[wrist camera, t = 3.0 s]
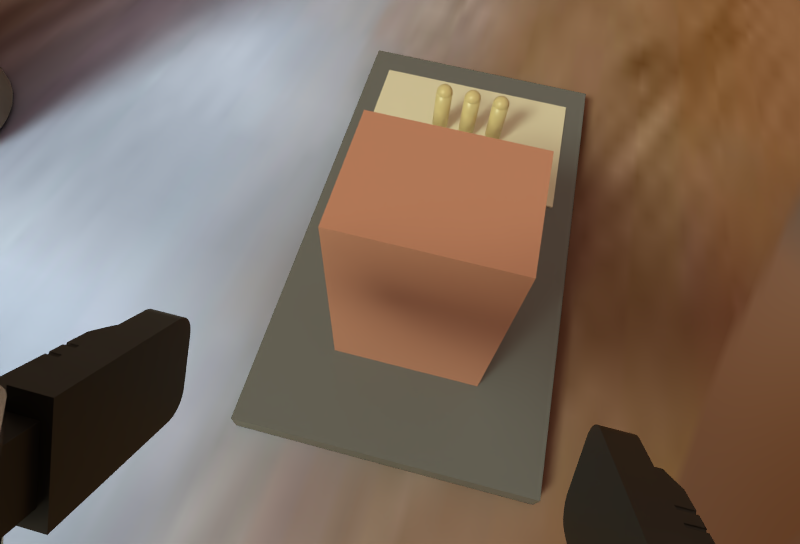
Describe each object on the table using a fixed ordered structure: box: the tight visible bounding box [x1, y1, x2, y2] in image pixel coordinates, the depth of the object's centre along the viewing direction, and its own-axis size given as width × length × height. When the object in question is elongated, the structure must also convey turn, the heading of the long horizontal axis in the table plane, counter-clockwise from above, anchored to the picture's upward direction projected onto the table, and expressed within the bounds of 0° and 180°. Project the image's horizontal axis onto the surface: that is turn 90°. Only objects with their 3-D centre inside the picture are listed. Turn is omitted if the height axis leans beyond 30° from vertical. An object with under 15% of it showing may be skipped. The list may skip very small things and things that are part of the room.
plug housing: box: [318, 110, 554, 386], centre depth 20 cm, size 6×5×9 cm
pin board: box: [231, 51, 586, 504], centre depth 26 cm, size 12×22×4 cm, turn 166°
